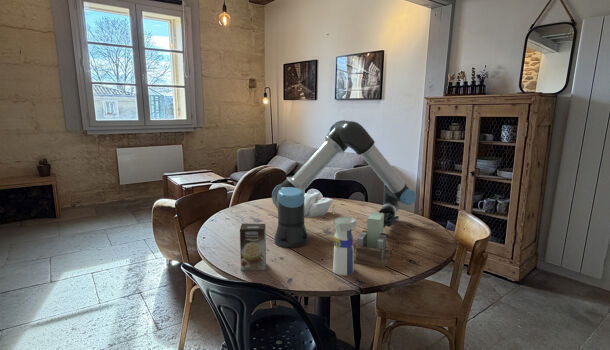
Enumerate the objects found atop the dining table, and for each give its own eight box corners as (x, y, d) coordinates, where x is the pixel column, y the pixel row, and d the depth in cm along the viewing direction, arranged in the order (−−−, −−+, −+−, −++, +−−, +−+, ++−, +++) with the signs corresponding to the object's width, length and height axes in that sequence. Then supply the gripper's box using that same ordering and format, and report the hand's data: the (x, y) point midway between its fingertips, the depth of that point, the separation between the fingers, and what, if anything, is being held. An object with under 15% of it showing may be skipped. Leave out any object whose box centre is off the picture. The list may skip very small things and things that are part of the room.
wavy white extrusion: (269, 210, 197) (269, 193, 195) (285, 203, 211) (285, 187, 209) (322, 220, 179) (322, 201, 177) (335, 212, 193) (336, 194, 191)
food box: (240, 271, 122) (238, 229, 119) (242, 263, 128) (241, 223, 125) (265, 270, 122) (264, 228, 119) (266, 262, 129) (265, 222, 126)
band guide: (360, 247, 143) (360, 227, 141) (391, 252, 138) (392, 231, 136) (351, 261, 129) (351, 239, 128) (385, 267, 124) (386, 244, 123)
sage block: (370, 243, 144) (372, 212, 141) (382, 245, 142) (384, 213, 139) (366, 251, 135) (367, 218, 133) (378, 253, 134) (380, 219, 131)
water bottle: (343, 278, 116) (344, 209, 112) (327, 269, 123) (327, 203, 119) (359, 271, 121) (361, 205, 117) (343, 263, 128) (345, 200, 123)
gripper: (400, 221, 164) (393, 238, 143) (374, 218, 169) (363, 234, 148) (401, 207, 163) (394, 221, 141) (374, 204, 168) (364, 218, 146)
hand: (378, 228), depth 145 cm, fingers closed
